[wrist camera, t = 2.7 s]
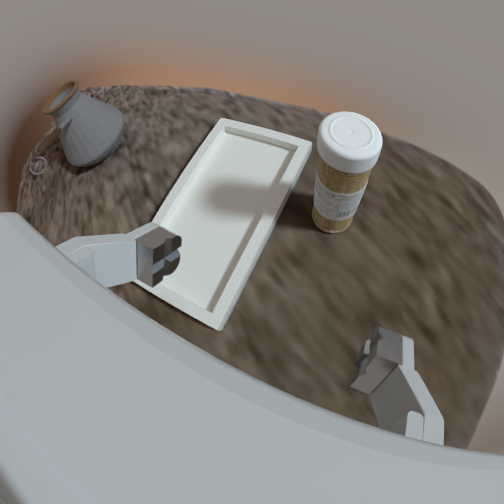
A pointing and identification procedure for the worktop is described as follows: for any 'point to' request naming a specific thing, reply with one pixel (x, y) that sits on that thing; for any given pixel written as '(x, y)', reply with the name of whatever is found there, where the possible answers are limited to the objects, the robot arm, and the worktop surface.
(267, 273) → the worktop surface
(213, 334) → the worktop surface
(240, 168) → the tray
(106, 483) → the robot arm
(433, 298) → the worktop surface
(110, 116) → the coffee pot
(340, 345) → the worktop surface
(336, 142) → the sprinkles bottle
